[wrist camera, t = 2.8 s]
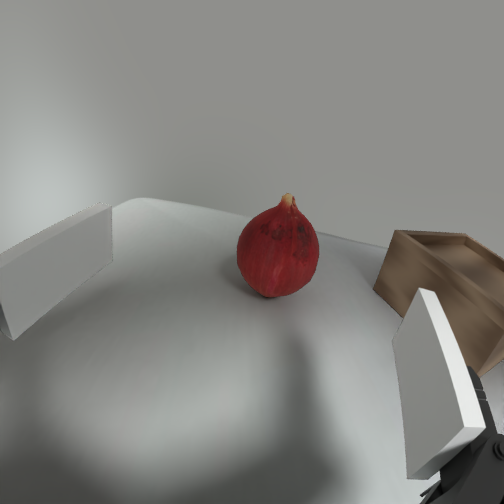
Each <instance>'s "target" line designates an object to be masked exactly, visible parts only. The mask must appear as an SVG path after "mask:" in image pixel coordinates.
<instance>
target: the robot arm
mask: <svg viewBox="0 0 504 504" xmlns="http://www.w3.org/2000/svg"><path fill="white" fill-rule="evenodd" d="M112 261H113V254H112V206H110V205H106V204H102V203H97V204H95V205H93V206H91V207H89V208H87V209H85V210H83V211H80V212H78V213H76V214H74V215H72V216H70V217H68V218H66V219H64V220H62V221H60V222H58V223H57V224H54V225H52V226H51V227H49V228H47V229H45V230H43V231H41V232H39V233H37V234H35V235H33V236H32V237H30V238H28V239H26V240H24V241H23V242H21V243H19V244H17V245H15V246H14V247H12V248H10V249H8V250H7V251H5V252H3V253H2V254H0V329H1V331H2V333H3V334H5V335H6V336H7V337H9V338H10V339H11V340H13V341H14V340H15V339H16V338H18V337H19V336H20V335H21V334H22V333H23V332H25V331H26V330H27V329H28V328H29V327H30V326H31V325H33V324H34V323H35V322H36V321H37V320H39V319H40V318H41V317H42V316H43V315H45V314H46V313H47V312H48V311H49V310H51V309H52V308H53V307H54V306H55V305H57V304H58V303H59V302H60V301H62V300H63V299H64V298H65V297H67V296H68V295H69V294H70V293H72V292H73V291H74V290H75V289H77V288H78V287H79V286H80V285H82V284H83V283H84V282H86V281H87V280H88V279H89V278H91V277H92V276H93V275H95V274H96V273H97V272H99V271H100V270H101V269H103V268H104V267H105V266H106V265H108V264H109V263H110V262H112ZM392 345H393V350H394V356H395V363H396V369H397V376H398V383H399V390H400V398H401V407H402V416H403V426H404V438H405V451H406V469H407V479H418V480H428V479H429V478H430V477H432V476H433V475H434V474H435V473H437V472H438V471H439V470H440V478H441V480H439V481H438V482H437V483H435V484H434V485H433V486H431V487H430V488H428V489H427V490H426V491H424V492H423V493H422V494H421V495H420V496H421V497H423V496H424V495H426V494H427V493H428V494H427V495H426V496H425V498H424V499H423V500H422V502H421V503H420V504H504V435H503V434H497V430H496V427H495V423H494V420H493V417H492V414H491V410H490V407H489V404H488V401H486V399H487V398H486V395H485V393H484V391H483V387H482V384H481V381H480V379H479V377H478V375H477V374H476V373H475V371H474V370H473V369H472V367H471V366H466V364H465V362H464V359H463V357H462V354H461V351H460V349H459V346H458V344H457V341H456V339H455V336H454V334H453V332H452V329H451V327H450V325H449V322H448V320H447V318H446V316H445V313H444V311H443V309H442V307H441V304H440V302H439V300H438V298H437V296H436V294H435V292H433V291H430V290H426V289H422V288H418V290H417V292H416V294H415V296H414V299H413V301H412V303H411V305H410V307H409V309H408V311H407V313H406V315H405V317H404V319H403V321H402V323H401V325H400V327H399V329H398V331H397V333H396V334H395V336H394V338H393V340H392Z"/></svg>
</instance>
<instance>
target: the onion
mask: <svg viewBox="0 0 504 504" xmlns="http://www.w3.org/2000/svg"><path fill="white" fill-rule="evenodd" d="M318 258H319V244H318V239H317V236H316V233H315V231H314V229H313V227H312V225H311V223H310V222H309V221H308V220H307V218H306V217H305V216H304V215H303V214H302V213H301V212H300V211H299V210H298V208H297V206H296V204H295V199H294V197H293V196H292V195H291V194H289V193H287V194H286V195H284V196H282V200H281V202H280V203H279V205H278V206H276V207H274V208H271V209H268V210H266V211H264V212H262V213H261V214H259V215H258V216H256V217H255V218H253V219H252V220H251V221H250V222H249V223H248V224H247V225H246V227H245V228H244V229H243V231H242V233H241V235H240V237H239V241H238V245H237V264H238V267H239V269H240V271H241V274H242V275H243V277H244V279H245V280H246V282H247V283H248V284H249V285H250V286H251V287H252V288H253V289H254V290H256V291H257V292H258V293H260V294H262V295H263V296H265V297H278V296H286V295H289V294H292V293H294V292H296V291H298V290H299V289H301V288H302V287H303V286H305V285H306V284H307V283H308V282H309V281H310V280H311V278H312V276H313V274H314V273H315V270H316V266H317V262H318Z"/></svg>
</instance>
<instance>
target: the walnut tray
mask: <svg viewBox="0 0 504 504" xmlns="http://www.w3.org/2000/svg"><path fill="white" fill-rule="evenodd" d="M418 288H422V289H426V290H430V291H433V292H435V294H436V296H437V298H438V300H439V302H440V304H441V307H442V309H443V311H444V313H445V316H446V318H447V320H448V322H449V325H450V327H451V329H452V332H453V334H454V336H455V339H456V341H457V344H458V346H459V349H460V351H461V354H462V357H463V359H464V362H465V364H466V366H471V367H472V369H473V370H474V371H475V373H476V374H477V375H478V377H481V376H482V375H484V374H485V373H486V372H488V371H489V370H490V369H492V368H493V367H494V366H496V365H497V364H498V363H499V362H501V361H502V360H503V359H504V259H503V258H501V257H500V256H498V255H497V254H495V253H494V252H492V251H491V250H489V249H488V248H486V247H485V246H483V245H482V244H480V243H479V242H477V241H476V240H474V239H473V238H471V237H469V236H468V235H466V234H462V233H446V232H445V233H444V232H427V231H408V230H395V231H394V234H393V237H392V240H391V242H390V245H389V248H388V251H387V254H386V256H385V259H384V262H383V264H382V267H381V270H380V272H379V275H378V278H377V280H376V283H375V285H374V288H373V290H374V291H376V292H377V293H378V294H379V295H380V296H381V297H382V298H383V299H384V300H385V301H386V302H387V303H388V304H389V305H390V306H391V307H392V308H393V309H394V310H395V311H396V312H397V313H398V314H399V315H401V316H402V317H403V318H404V317H405V315H406V313H407V311H408V309H409V307H410V305H411V303H412V301H413V299H414V296H415V294H416V292H417V290H418Z"/></svg>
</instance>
